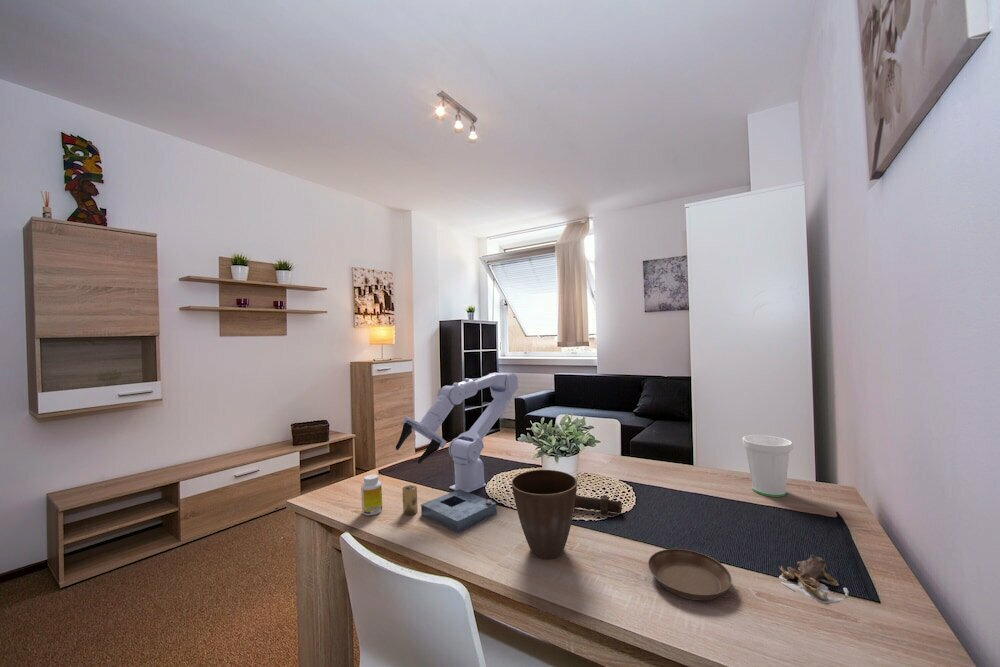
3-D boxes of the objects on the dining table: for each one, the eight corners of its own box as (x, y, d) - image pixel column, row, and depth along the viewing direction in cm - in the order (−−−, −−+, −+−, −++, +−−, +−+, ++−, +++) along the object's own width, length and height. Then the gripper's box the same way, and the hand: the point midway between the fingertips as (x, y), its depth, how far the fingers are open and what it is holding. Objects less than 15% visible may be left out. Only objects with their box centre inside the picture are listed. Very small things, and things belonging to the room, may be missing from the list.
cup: (746, 480, 127) (744, 432, 127) (794, 488, 120) (792, 437, 120) (742, 494, 117) (740, 442, 117) (795, 503, 109) (792, 448, 109)
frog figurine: (787, 558, 85) (786, 541, 85) (860, 588, 75) (859, 567, 75) (760, 578, 79) (759, 558, 79) (835, 612, 69) (834, 590, 69)
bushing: (412, 508, 116) (411, 484, 116) (420, 511, 114) (419, 487, 114) (400, 512, 114) (399, 488, 114) (408, 516, 111) (407, 491, 111)
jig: (459, 498, 122) (459, 486, 122) (496, 513, 110) (496, 500, 110) (421, 515, 112) (420, 501, 112) (458, 533, 100) (457, 518, 100)
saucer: (693, 619, 68) (692, 603, 68) (632, 572, 82) (632, 559, 82) (750, 593, 74) (749, 579, 74) (684, 554, 88) (684, 542, 88)
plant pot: (573, 575, 81) (570, 497, 81) (505, 563, 86) (502, 490, 86) (584, 538, 95) (581, 472, 95) (524, 530, 100) (522, 467, 100)
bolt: (621, 522, 106) (566, 514, 112) (622, 506, 111) (568, 499, 116) (620, 508, 104) (563, 500, 109) (621, 492, 108) (566, 485, 113)
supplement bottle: (385, 512, 114) (384, 476, 114) (366, 518, 111) (365, 481, 111) (377, 506, 119) (376, 472, 119) (359, 511, 115) (358, 476, 115)
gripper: (414, 400, 119) (385, 438, 112) (455, 425, 117) (428, 465, 110) (415, 409, 125) (387, 445, 118) (453, 433, 123) (428, 471, 115)
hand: (407, 455), depth 114 cm, fingers open, 7 cm apart
